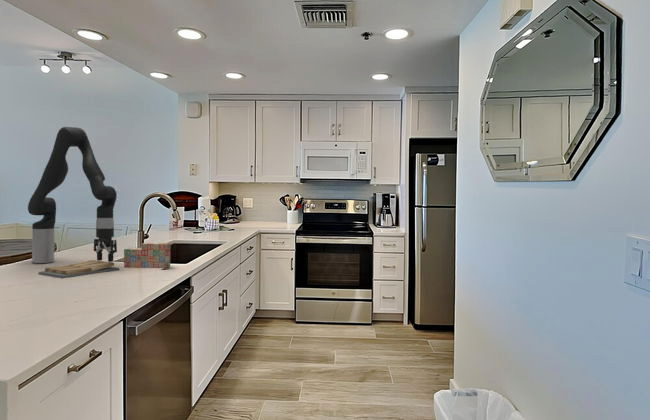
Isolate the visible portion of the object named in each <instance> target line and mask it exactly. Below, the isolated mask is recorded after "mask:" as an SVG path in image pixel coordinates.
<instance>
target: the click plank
mask: <svg viewBox="0 0 650 420" xmlns="http://www.w3.org/2000/svg"><path fill="white" fill-rule="evenodd" d="M69 265H70V266H77V267H85V268H91V271H95V270H99V269H103V268H107V267H115V262H108V261H104V260H100V261H98V260H97V259H96V260H95V259H94V260H93V259H90V260H85V261H80V262H75V263H71V264H69Z"/></svg>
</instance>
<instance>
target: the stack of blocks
mask: <svg viewBox="0 0 650 420" xmlns="http://www.w3.org/2000/svg"><path fill="white" fill-rule="evenodd" d="M123 263H124V265H123V267H124V268H131V269H132V268H138V269H141V268H142V269H168V268H170V267H171V242H144V243H141V247H129V248H124V249H123Z"/></svg>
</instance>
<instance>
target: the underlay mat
mask: <svg viewBox="0 0 650 420" xmlns="http://www.w3.org/2000/svg"><path fill="white" fill-rule="evenodd" d="M113 271H120V267H116V266H112V267H107V268H103V269H99V270H95V271H91V272H85V273H78V274H71V275H65V274H59V273H52V272H46V271H45V270H44V271H39V272H38V273H37V274H38V275H39V276H40V275H41V276H46V277H47V276H48V277H52V278H53V277H54V278H58V279H67V278H74V277H80V276H87V275H94V274H101V273H106V272H113Z"/></svg>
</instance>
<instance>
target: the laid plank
mask: <svg viewBox="0 0 650 420" xmlns="http://www.w3.org/2000/svg"><path fill="white" fill-rule="evenodd" d="M44 271H46V272H52V273H59V274H65V275H71V274H78V273H85V272H91V268H85V267H77V266H70V264H68V265H67V264H66V265H59V266H58V265H57V266H52V267H51V266H50V267H45V268H44Z"/></svg>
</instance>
